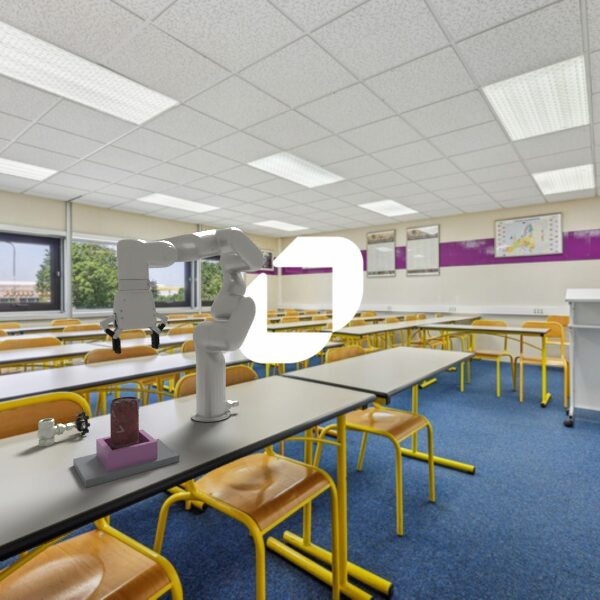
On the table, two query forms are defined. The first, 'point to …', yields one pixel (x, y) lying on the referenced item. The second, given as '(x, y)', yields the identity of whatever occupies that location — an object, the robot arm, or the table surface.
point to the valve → (60, 428)
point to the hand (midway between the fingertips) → (137, 350)
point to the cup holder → (123, 459)
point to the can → (124, 422)
